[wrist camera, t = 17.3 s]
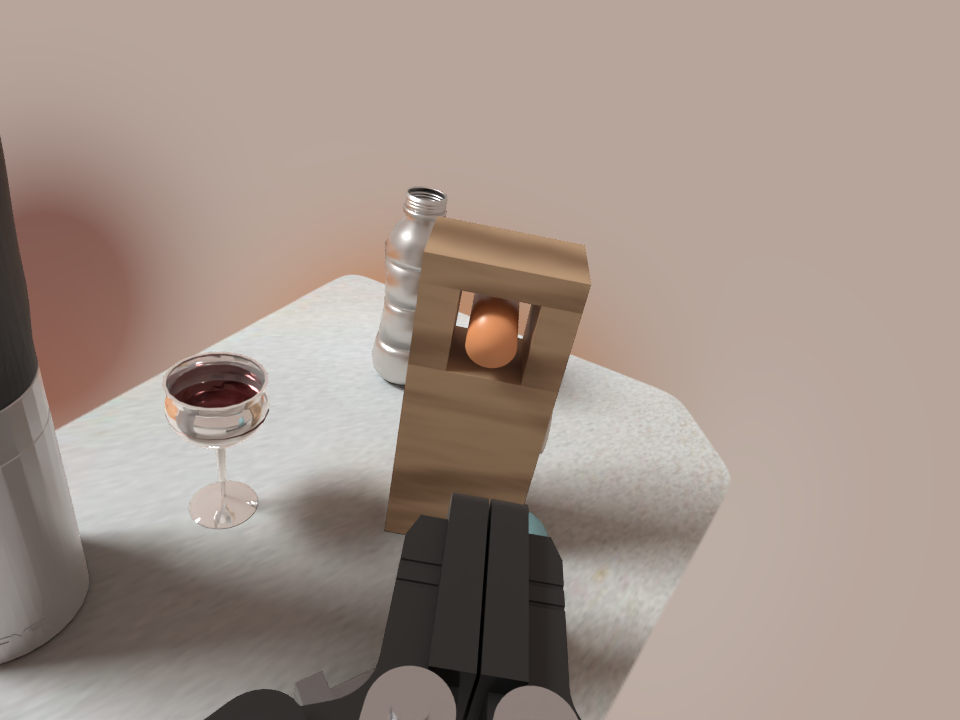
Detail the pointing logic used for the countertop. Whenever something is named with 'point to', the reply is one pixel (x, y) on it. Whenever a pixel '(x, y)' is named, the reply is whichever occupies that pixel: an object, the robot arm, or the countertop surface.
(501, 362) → the plunger
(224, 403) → the wineglass
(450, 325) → the wooden window block
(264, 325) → the countertop surface
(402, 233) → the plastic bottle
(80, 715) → the countertop surface
